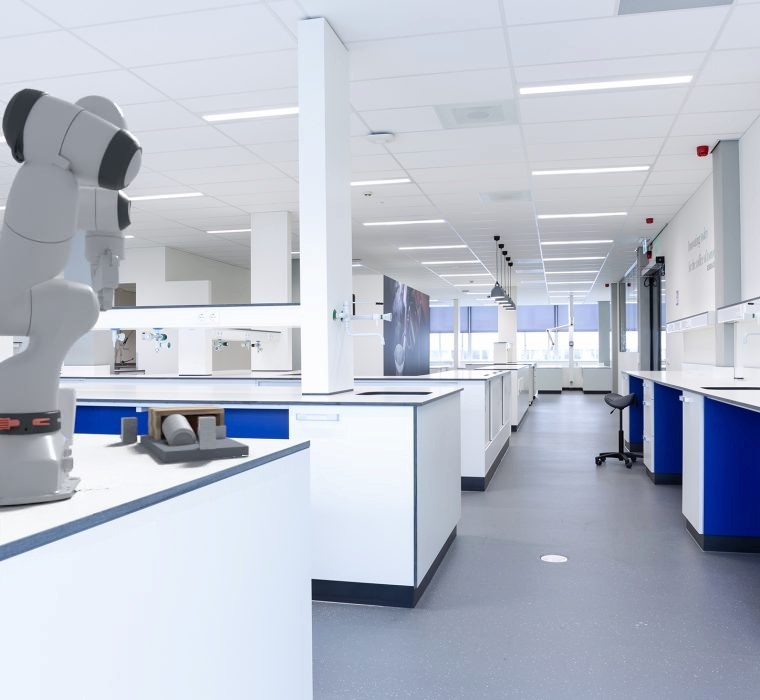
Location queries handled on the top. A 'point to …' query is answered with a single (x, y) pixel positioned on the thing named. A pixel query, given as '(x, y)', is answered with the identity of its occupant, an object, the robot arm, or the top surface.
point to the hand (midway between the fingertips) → (105, 310)
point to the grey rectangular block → (209, 432)
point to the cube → (196, 421)
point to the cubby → (161, 413)
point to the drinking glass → (67, 412)
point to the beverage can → (178, 430)
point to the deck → (192, 449)
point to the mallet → (129, 430)
